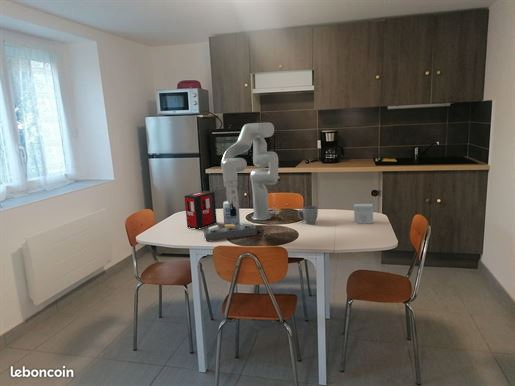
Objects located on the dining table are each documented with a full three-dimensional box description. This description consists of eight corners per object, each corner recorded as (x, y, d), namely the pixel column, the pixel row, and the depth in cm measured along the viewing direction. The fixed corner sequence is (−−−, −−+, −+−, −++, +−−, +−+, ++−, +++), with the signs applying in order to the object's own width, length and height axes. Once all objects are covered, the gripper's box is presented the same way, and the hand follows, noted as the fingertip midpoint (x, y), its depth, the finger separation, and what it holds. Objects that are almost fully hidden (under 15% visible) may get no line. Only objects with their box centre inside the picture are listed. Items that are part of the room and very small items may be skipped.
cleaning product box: (206, 221, 247) (204, 190, 243) (216, 223, 241) (214, 191, 237) (187, 228, 234) (184, 195, 230) (197, 229, 228) (194, 197, 225)
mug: (319, 221, 232) (318, 205, 230) (316, 225, 224) (316, 209, 222) (299, 221, 236) (298, 205, 234) (296, 225, 227) (296, 209, 225)
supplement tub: (226, 228, 227) (224, 204, 225) (222, 224, 236) (221, 201, 234) (242, 226, 230) (240, 202, 227) (238, 222, 239) (236, 199, 236)
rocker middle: (233, 226, 214) (233, 224, 214) (235, 227, 211) (235, 225, 211) (224, 226, 213) (224, 224, 213) (225, 228, 210) (225, 226, 209)
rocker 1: (217, 226, 212) (217, 224, 212) (218, 228, 209) (218, 226, 208) (208, 229, 211) (208, 227, 211) (209, 231, 208) (209, 229, 207)
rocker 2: (249, 224, 217) (249, 222, 217) (251, 226, 213) (251, 224, 213) (240, 223, 215) (240, 221, 215) (242, 225, 212) (242, 223, 212)
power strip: (261, 229, 222) (261, 221, 221) (265, 233, 214) (265, 225, 213) (204, 237, 213) (203, 228, 212) (206, 241, 206) (205, 232, 205)
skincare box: (372, 220, 227) (372, 203, 225) (373, 223, 221) (373, 206, 219) (354, 220, 230) (354, 203, 228) (354, 223, 224) (354, 206, 222)
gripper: (240, 184, 202) (243, 218, 206) (234, 180, 216) (237, 211, 220) (226, 186, 200) (229, 220, 204) (221, 181, 214) (224, 213, 218)
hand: (233, 215), depth 212 cm, fingers closed
